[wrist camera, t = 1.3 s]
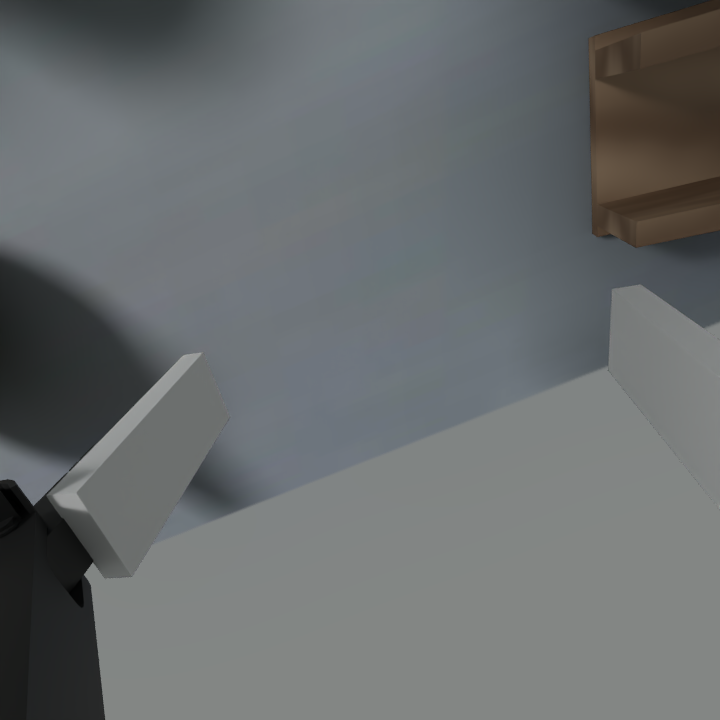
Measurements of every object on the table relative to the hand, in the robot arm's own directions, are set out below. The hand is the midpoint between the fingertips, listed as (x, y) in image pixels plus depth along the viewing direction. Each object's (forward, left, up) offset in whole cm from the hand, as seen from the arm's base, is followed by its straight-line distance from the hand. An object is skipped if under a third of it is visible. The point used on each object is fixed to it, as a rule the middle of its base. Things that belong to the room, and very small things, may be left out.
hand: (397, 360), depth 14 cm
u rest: (-2, +20, -21) cm, 29 cm away
